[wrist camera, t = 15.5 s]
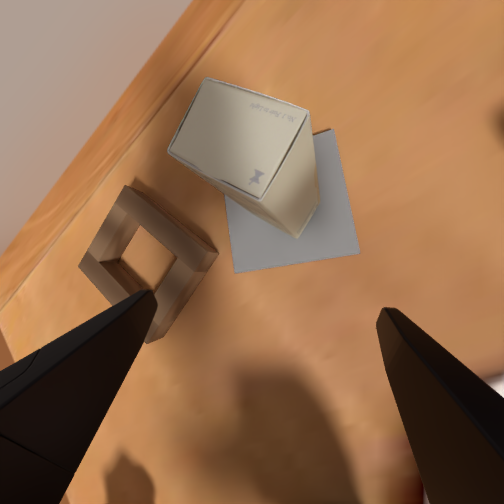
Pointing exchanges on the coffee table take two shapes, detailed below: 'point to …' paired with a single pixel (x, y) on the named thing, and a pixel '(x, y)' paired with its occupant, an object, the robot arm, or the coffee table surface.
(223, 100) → the skincare box
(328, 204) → the slate mat
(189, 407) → the coffee table surface
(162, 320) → the walnut holder
